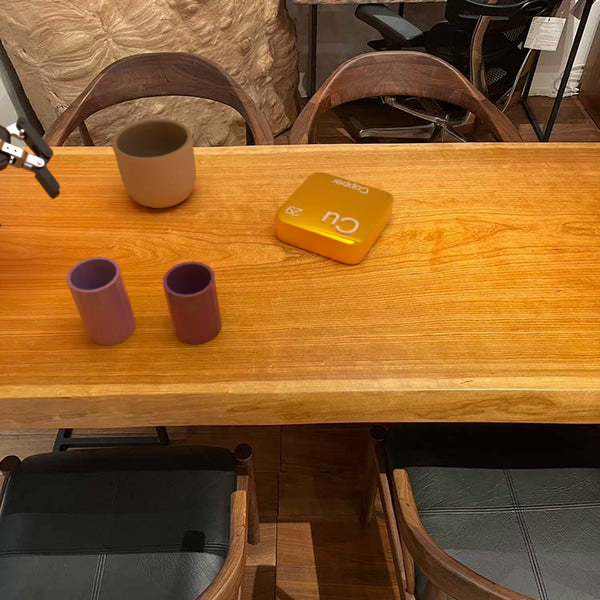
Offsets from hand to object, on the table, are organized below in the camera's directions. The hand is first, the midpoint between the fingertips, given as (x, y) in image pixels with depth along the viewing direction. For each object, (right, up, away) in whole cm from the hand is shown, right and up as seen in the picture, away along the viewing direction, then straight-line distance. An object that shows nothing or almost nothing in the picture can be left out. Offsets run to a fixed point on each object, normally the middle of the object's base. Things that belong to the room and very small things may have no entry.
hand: (28, 211), depth 74 cm
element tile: (+40, +1, +21) cm, 45 cm away
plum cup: (+21, -15, +6) cm, 26 cm away
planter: (+11, +7, +27) cm, 30 cm away
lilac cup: (+9, -15, +6) cm, 18 cm away
